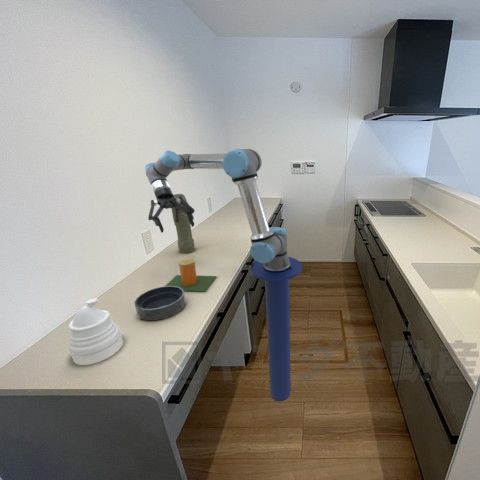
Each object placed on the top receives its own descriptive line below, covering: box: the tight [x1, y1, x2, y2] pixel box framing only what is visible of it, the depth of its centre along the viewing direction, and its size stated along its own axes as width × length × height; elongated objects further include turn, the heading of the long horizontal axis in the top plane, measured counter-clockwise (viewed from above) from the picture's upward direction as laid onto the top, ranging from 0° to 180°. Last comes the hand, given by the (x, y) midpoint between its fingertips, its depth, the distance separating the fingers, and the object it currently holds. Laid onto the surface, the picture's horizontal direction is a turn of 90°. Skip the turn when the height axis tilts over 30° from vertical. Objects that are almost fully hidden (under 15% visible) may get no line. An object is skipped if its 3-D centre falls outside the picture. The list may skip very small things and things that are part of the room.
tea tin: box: [177, 258, 198, 286], centre depth 124 cm, size 7×7×11 cm
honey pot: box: [67, 297, 124, 366], centre depth 83 cm, size 13×13×18 cm
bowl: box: [134, 285, 187, 321], centre depth 107 cm, size 17×17×6 cm
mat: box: [165, 274, 217, 293], centre depth 126 cm, size 20×14×1 cm
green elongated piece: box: [170, 193, 196, 255], centre depth 157 cm, size 9×12×35 cm
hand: (178, 228), depth 124 cm, fingers open, 13 cm apart
